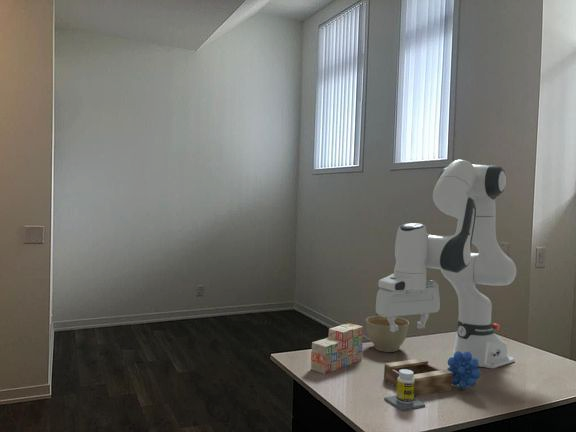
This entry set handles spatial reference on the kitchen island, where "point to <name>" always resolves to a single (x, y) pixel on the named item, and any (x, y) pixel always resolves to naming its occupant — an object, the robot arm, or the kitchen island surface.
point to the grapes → (464, 369)
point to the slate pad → (403, 406)
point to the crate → (420, 376)
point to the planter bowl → (386, 333)
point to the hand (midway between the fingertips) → (407, 330)
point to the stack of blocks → (337, 348)
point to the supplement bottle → (405, 386)
